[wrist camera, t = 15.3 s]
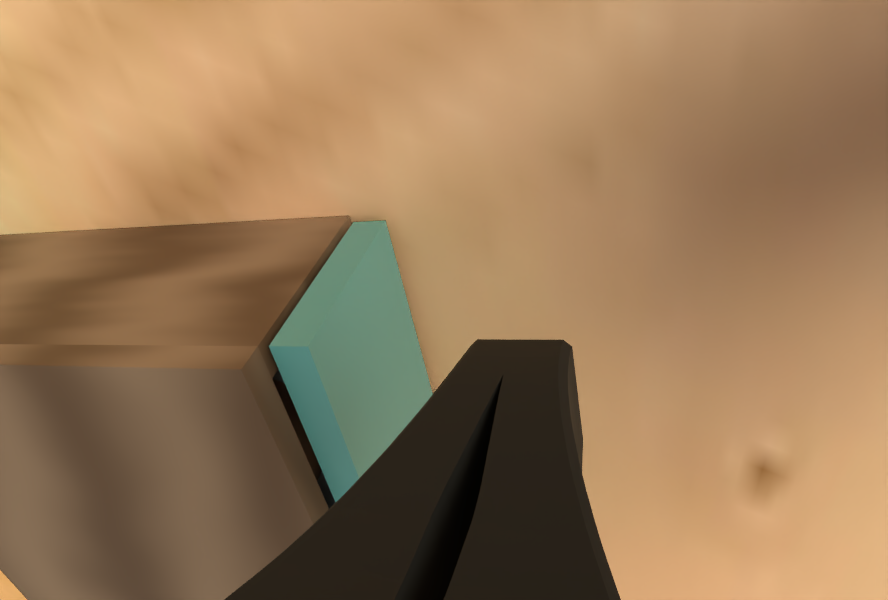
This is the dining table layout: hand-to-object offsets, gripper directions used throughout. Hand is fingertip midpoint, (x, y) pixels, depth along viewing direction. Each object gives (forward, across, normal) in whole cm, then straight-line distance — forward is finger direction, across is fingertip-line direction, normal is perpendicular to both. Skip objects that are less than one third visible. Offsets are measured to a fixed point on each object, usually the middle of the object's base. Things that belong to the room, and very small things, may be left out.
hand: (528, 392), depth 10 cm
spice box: (+9, +14, +10) cm, 20 cm away
